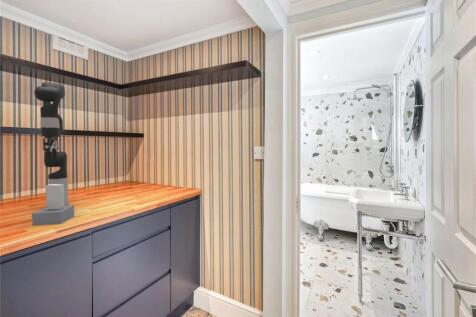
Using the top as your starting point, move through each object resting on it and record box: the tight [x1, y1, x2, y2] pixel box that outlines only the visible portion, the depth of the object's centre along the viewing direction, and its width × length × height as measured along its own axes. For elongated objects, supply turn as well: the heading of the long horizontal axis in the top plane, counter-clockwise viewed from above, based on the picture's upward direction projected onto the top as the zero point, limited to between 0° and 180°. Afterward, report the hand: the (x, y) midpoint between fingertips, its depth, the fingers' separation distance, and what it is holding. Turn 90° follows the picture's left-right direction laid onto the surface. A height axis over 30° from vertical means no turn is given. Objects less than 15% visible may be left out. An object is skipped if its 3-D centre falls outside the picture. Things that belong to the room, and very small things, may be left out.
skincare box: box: [45, 183, 64, 210], centre depth 114 cm, size 6×4×12 cm
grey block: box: [31, 205, 75, 226], centre depth 115 cm, size 12×12×6 cm
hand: (51, 158), depth 119 cm, fingers open, 8 cm apart
